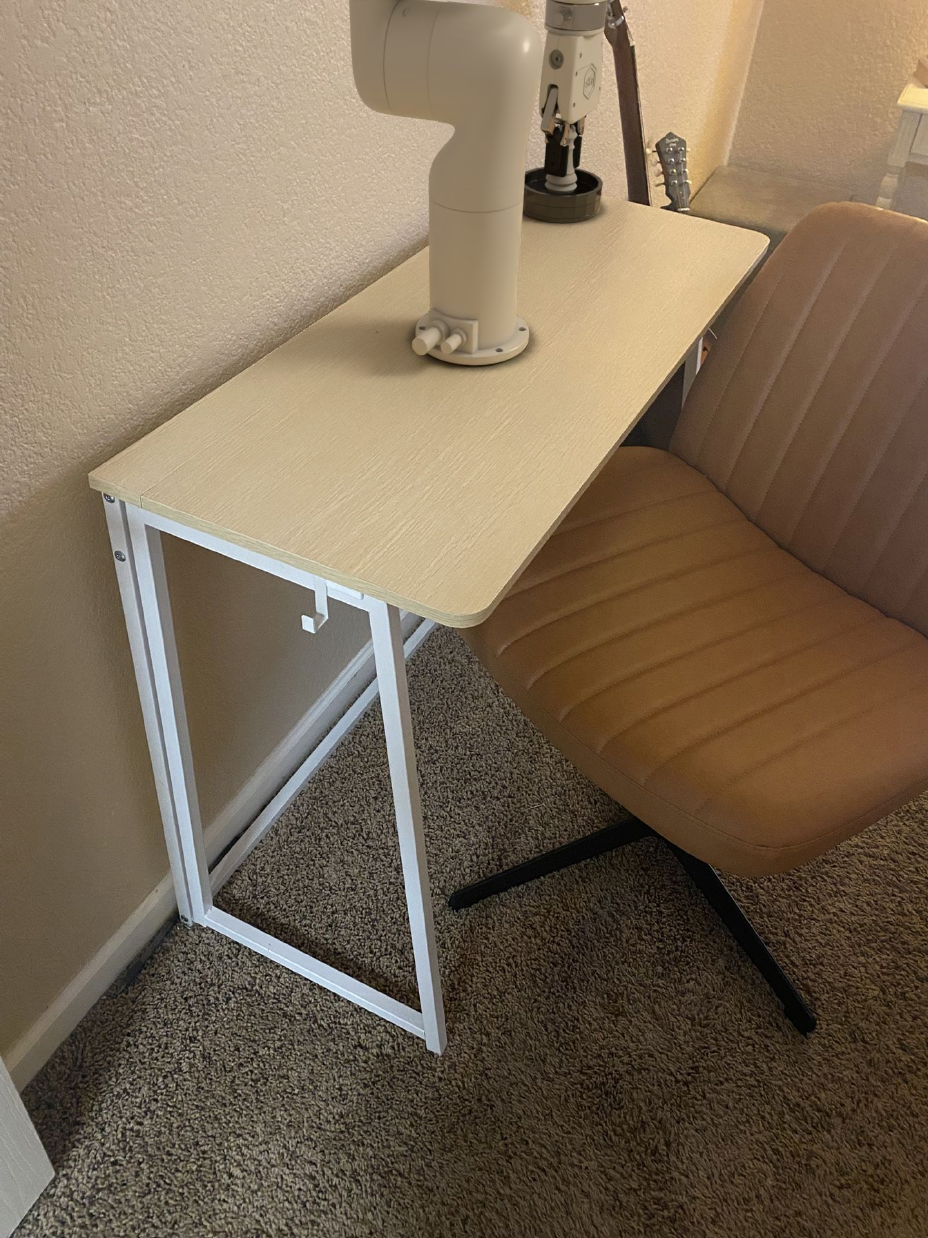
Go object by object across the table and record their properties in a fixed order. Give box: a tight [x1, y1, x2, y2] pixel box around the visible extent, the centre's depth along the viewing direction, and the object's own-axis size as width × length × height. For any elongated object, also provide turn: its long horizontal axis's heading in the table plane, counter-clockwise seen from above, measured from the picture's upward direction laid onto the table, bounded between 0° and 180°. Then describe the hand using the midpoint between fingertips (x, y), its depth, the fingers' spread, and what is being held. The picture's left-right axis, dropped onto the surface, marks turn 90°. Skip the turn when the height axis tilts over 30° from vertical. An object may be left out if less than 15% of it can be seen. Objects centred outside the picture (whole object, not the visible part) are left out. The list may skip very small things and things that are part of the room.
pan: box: [523, 166, 604, 224], centre depth 131 cm, size 12×12×4 cm
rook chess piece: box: [545, 124, 577, 194], centre depth 128 cm, size 4×4×8 cm
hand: (561, 168), depth 129 cm, fingers closed on rook chess piece, 3 cm apart
